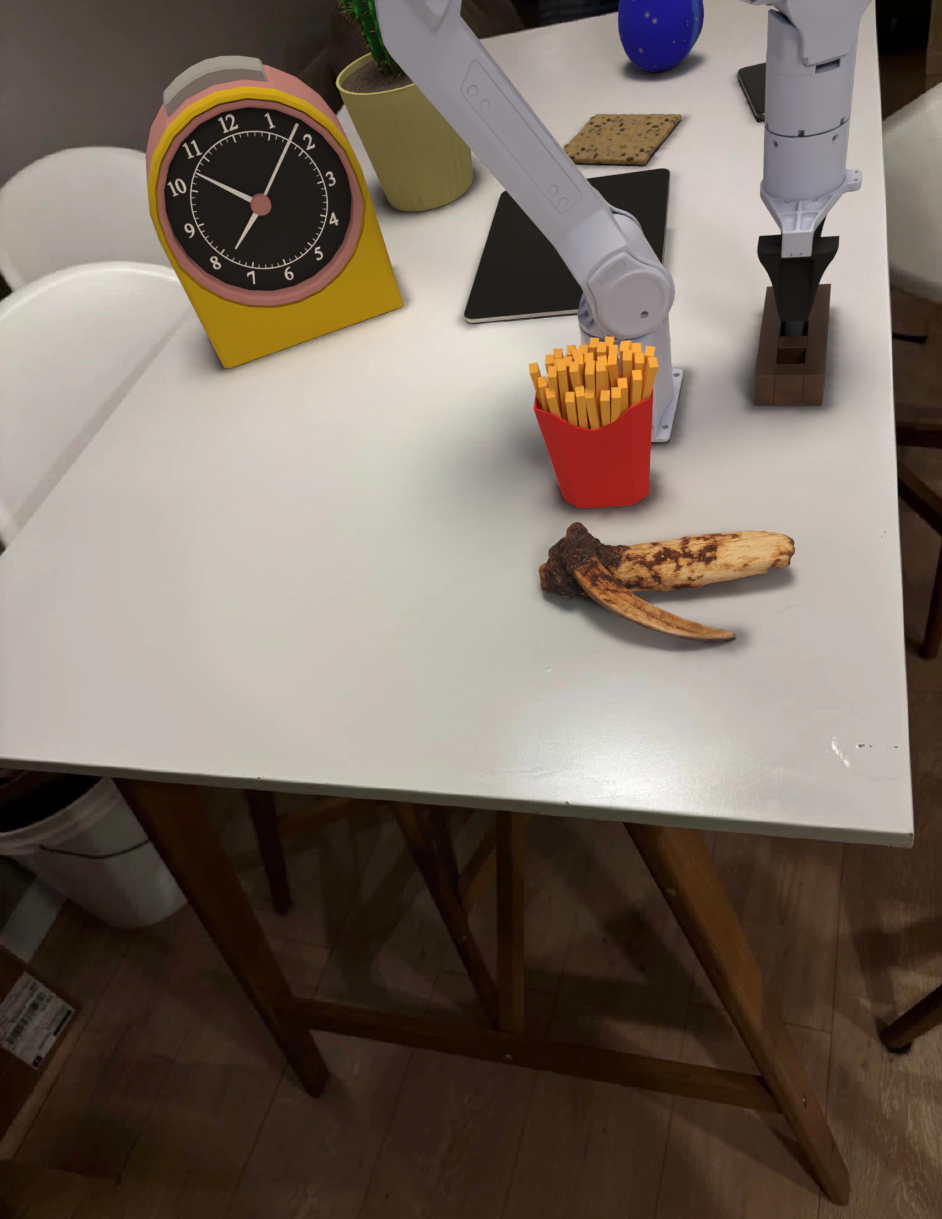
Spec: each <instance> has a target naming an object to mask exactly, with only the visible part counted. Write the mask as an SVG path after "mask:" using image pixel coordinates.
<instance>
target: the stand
mask: <svg viewBox="0 0 942 1219" xmlns="http://www.w3.org/2000/svg"><path fill="white" fill-rule="evenodd" d="M831 293H832V283H819V286H818V289H817V292H816V296H815V300H814V303H813V307H812V310H811V312H810V315H809V317H808V319H807V320H806V321H803V334H802V336H785V326H786V322H781V321H780V319H779V316H778V312H777V308H776V302H775V297H774V291H773V287H772V285H768V286H766V290H765V296H764V303H763V310H762V318H761V325H760V332H759V339H758V347H757V354H756V359H755V367H754V374H753V406H823V401H824V392H825V381H826V368H827V352H828V339H829V337H828V336H829V324H830V323H829V322H830V320H829V319H830V309H831V308H830V307H831Z"/></svg>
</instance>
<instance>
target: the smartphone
mask: <svg viewBox="0 0 942 1219" xmlns="http://www.w3.org/2000/svg"><path fill="white" fill-rule="evenodd" d="M736 75H737V78H738V81H739V83H740V84H741V86H742V89H743V92H744V93H745V95H746V97H747V100H748V103H749V104H750V106H751V109H752V111H753V113H754V115H755V117H756V118H758V119H759V120H765V87H766V61H765V62H762V63H761V62H760V63H757V64H753V65H747V66H744V67H740V69H738V71H737V74H736Z"/></svg>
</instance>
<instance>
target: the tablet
mask: <svg viewBox="0 0 942 1219" xmlns="http://www.w3.org/2000/svg"><path fill="white" fill-rule="evenodd" d="M585 178H586V179H587V181H588V182H589V183H590V185H591V186H592V187H594V188H595V189H596V190H597V191H598V192H599V193H600V194H601V195H602V197H603V198H604V199H605V200H606V201H607V203H609V204H610V205H611V206H613V207H615V208H618V209H621V210H623V211H626V212H628V213H630V214H631V215H632V216H634V217H635V218H636V220H637V221H638V222H639V224H640V226H641V228H642V231H643V234H644V236H645V238H646V240H647V241H648V243H649V244H650V246H651V248H652V249H653V251H654V253H655V254H656V256H657V258H658V259H659V261H660V263H661V264H662V265H663V266H664V254H665V242H666V231H667V218H668V205H669V195H670V194H669V193H670V185H671V184H670V182H671V171H670V169H669V168H664V167H662V168H661V167H659V168H653V169H646V170H638V171H637V170H636V171H631V172H624V173H623V172H622V173H616V174H609V175H602V176H601V175H600V176H594V177H585ZM473 279H474V280H473V283H472V286H471V290H470V292H469V296H468V299H467V303H466V305H465V309H464V312H463V318H464V320H465V321H466V322H468V323H470V324H471V323H472V324H474V323H484V322H485V323H486V322H497V321H506V320H519V319H526V318H539V317H548V316H559V315H571V314H577V312H578V310H579V304H580V301H581V297H582V294H583V290H582V288H581V286H580V285H579V283H578V282H577V281H576V279H575V278H574V276H573V275H572V273H571V271H570V270H569V268H568V267H567V265H566V264H565V262H564V261H563V259H562V258H561V256H560V255H559V253H558V251H557V250H556V249H555V247H554V246H553V245H552V243H551V242H550V241H549V240H548V239H547V238H546V236H545V235H544V234H543V233H542V232H541V231H540V229H539V228H538V227H537V226H536V225H535V224H534V222H533V221H532V220H531V219H530V218H529V217H528V215H527V214H526V213H525V212H524V211H523V210H522V208H521V207H520V206H519V205H518V204H517V203H516V201H515V200H514V199H513V198H512V197H511V196H510V194H509V193H508V192H507V191H506V190H504V191H502V192H501V193H500V195H499V198H498V201H497V205H496V208H495V211H494V214H493V217H492V221H491V225H490V228H489V230H488V234H487V237H486V240H485V243H484V247H483V250H482V254H481V256H480V260H479V263H478V266H477V270H476V273H475V276H474V278H473Z"/></svg>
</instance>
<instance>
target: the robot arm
mask: <svg viewBox="0 0 942 1219" xmlns="http://www.w3.org/2000/svg"><path fill="white" fill-rule="evenodd" d="M872 1H873V0H739V2H743V3H746V4H749V5H751V6H763V5H764V6H766V7H771V6H772V7H773V8H774V9H773V8H770V9H769V10H768V11H767V34H766V53H765V62H766V87H765V119H764V129H763V130H764V131H763V160H762V161H763V164H762V179H761V181H760V184H759V198H760V200H761V202H762V203H763V205H764V206H765V208H766V209H767V211H768V213H769V214H770V216H771V217H772V219H773V221H774V222H775V224H776V225H777V227H778V229H779V230H780V234H767V235H766V234H765V235H759V236H758V239H757V246H756V254H757V258H758V261H759V263H760V264H761V265H762V267H763V268H764V270H765V272H766V274H767V275H768V278H769V281H770V283H771V286H772V287H773V291H774V297H775V302H776V308H777V312H778V316H779V319H780V321H781V322H789V321H806V320H807V319H808V317H809V315H810V312H811V310H812V307H813V303H814V300H815V296H816V292H817V289H818V286H819V284H821V280H822V278H823V276H824V274H825V272H826V271H827V268H828V267H829V266H830V264H831V263H832V262H833V260H834V259H835V257H836V255H837V253H838V251H839V248H840V235H828V236H822V233H823V229H824V227H825V226H824V225H825V222H826V220H827V219H826V218H827V216H828V214H829V213H830V211H831V210H832V209H833V208H834V206H835V205H836V204H837V203H838V201H839V200H840V199H841V198H842V196H843V195H844V194H847V193H853V192H857V191H859V190H860V189H861V188H862V181H863V171H862V170H861V169H859V168H853V169H851V168H850V169H847V168H846V167H847V158H848V146H849V137H850V136H849V135H850V124H851V116H852V106H853V105H852V104H853V97H854V96H853V95H854V94H853V93H854V85H855V84H854V82H855V72H856V64H857V52H858V43H859V42H858V41H859V29H860V24H861V20H862V17H863V16H864V13H865V12H866V10H867V9H868V7H869V6H870V4H871V3H872ZM374 2H375V8H376V14H377V20H378V25H379V28H380V32H381V36H382V40H383V44H384V45H385V47H386V49H387V50H388V52H389V54H390V56H391V57H392V58H393V59H394V60H395V61H396V63H397V64H398V65H399V66H400V67H401V68H402V70H403V71H404V72H405V73H406V74H407V75H408V77H409V78H410V79H411V80H412V81H413V82H414V84H415V85H416V86H417V87H418V88H419V89H420V91H421V92H422V93H423V94H424V95H425V96H426V98H427V99H428V100H429V101H430V102H431V103H432V105H433V106H434V107H435V108H436V109H437V110H438V112H439V113H440V114H441V115H442V116H443V117H444V119H445V120H446V121H447V122H448V123H449V124H450V126H451V127H452V128H453V129H454V130H455V131H456V133H457V134H458V135H459V136H460V137H461V138H462V140H463V141H464V142H465V143H466V144H467V145H468V147H469V148H470V149H471V152H472V153H473V154H474V155H475V156H476V157H477V158H478V160H479V161H480V162H481V163H482V164H483V166H485V168H486V169H487V170H488V172H490V174H491V175H492V176H493V177H494V178H495V180H496V181H497V182H498V183H499V184H500V186H501V187H502V188H504V191H507V192H508V193H509V194H510V196H511V197H512V198H513V199H514V200H515V201H516V203H517V204H518V205H519V206H520V207H521V208H522V210H523V211H524V212H525V213H526V214H527V215H528V217H529V218H530V219H531V220H532V221H533V222H534V224H535V225H536V226H537V227H538V228H539V229H540V231H541V232H542V233H543V234H544V235H545V236H546V238H547V239H548V240H549V241H550V242H551V243H552V245H553V246H554V247H555V249H556V250H557V251H558V253H559V255H560V256H561V258H562V259H563V261H564V262H565V264H566V265H567V267H568V268H569V270H570V271H571V273H572V275H573V276H574V278H575V279H576V281H577V282H578V283H579V285H580V286H581V288H582V290H583V294H582V297H581V301H580V304H579V310H578V312H577V313H576V314H577V321H578V327H579V328H578V329H579V334H580V341H581V345H588V344H590V338H599V342H605V337H606V336H607V337H614V345H618V364H619V371H620V374H621V361H620V344H621V341H629V340H631V347H632V343H641V353H642V352H644V355H645V350H646V345H647V346H653V347H655V352H654V357H657V362H658V370H657V374H656V378H655V381H654V385H653V413H652V434H651V443H666V442H668V441H669V440H670V439H671V435H672V429H673V425H674V420H675V415H676V412H677V406H678V402H679V397H680V392H681V387H682V384H683V378H684V370H683V368H680V367H679V368H678V367H676V368H675V367H674V368H673V364H672V346H671V345H672V344H671V331H670V330H671V328H670V327H671V326H670V311H671V309H672V307H673V304H674V301H675V296H676V295H675V294H676V286H675V282H674V279H673V276H672V275H671V272H670V271H669V270H668V269H667V268H666V267H665V266H664V264H663V265H662V264H661V263H660V261H659V259H658V258H657V256H656V254H655V253H654V251H653V249H652V248H651V246H650V244H649V243H648V241H647V240H646V238H645V236H644V234H643V231H642V228H641V226H640V224H639V222H638V221H637V220H636V218H635V217H634V216H632V215H631V214H630V213H628V212H626V211H623V210H621V209H618V208H615V207H613V206H611V205H610V204H609V203H607V201H606V200H605V199H604V198H603V197H602V195H601V194H600V193H599V192H598V191H597V190H596V189H595V188H594V187H592V186H591V185H590V183H589V182H588V181H587V179H586V178H587V177H585V175H584V174H583V173H582V171H581V170H580V169H579V167H578V166H577V165H576V163H573V161H572V160H571V159H570V157H569V156H568V155H567V153H566V152H565V151H564V150H563V149H564V147H563V146H561V144H560V143H559V142H558V140H557V139H556V137H555V136H554V135H553V134H552V133H551V131H550V130H549V129H548V127H547V126H546V125H545V124H544V122H543V121H542V120H541V118H540V117H539V116H538V114H537V113H536V111H535V110H534V109H533V108H532V106H531V105H530V104H529V103H528V101H527V100H526V99H525V98H524V96H523V95H522V94H521V92H520V91H519V90H518V88H517V87H516V86H515V85H514V83H513V82H512V80H510V78H509V77H508V75H507V74H506V73H505V72H504V71H503V68H501V67H500V65H499V64H498V63H497V62H496V60H495V58H493V56H492V54H490V52H489V51H488V50H487V48H486V47H485V46H484V45H483V43H482V42H481V41H480V39H479V38H478V37H477V35H476V34H475V33H474V32H473V31H472V29H471V27H470V26H469V25H468V23H467V22H466V21H465V19H464V18H463V17H462V16H461V9H462V2H463V0H374ZM775 9H776V10H775Z"/></svg>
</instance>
